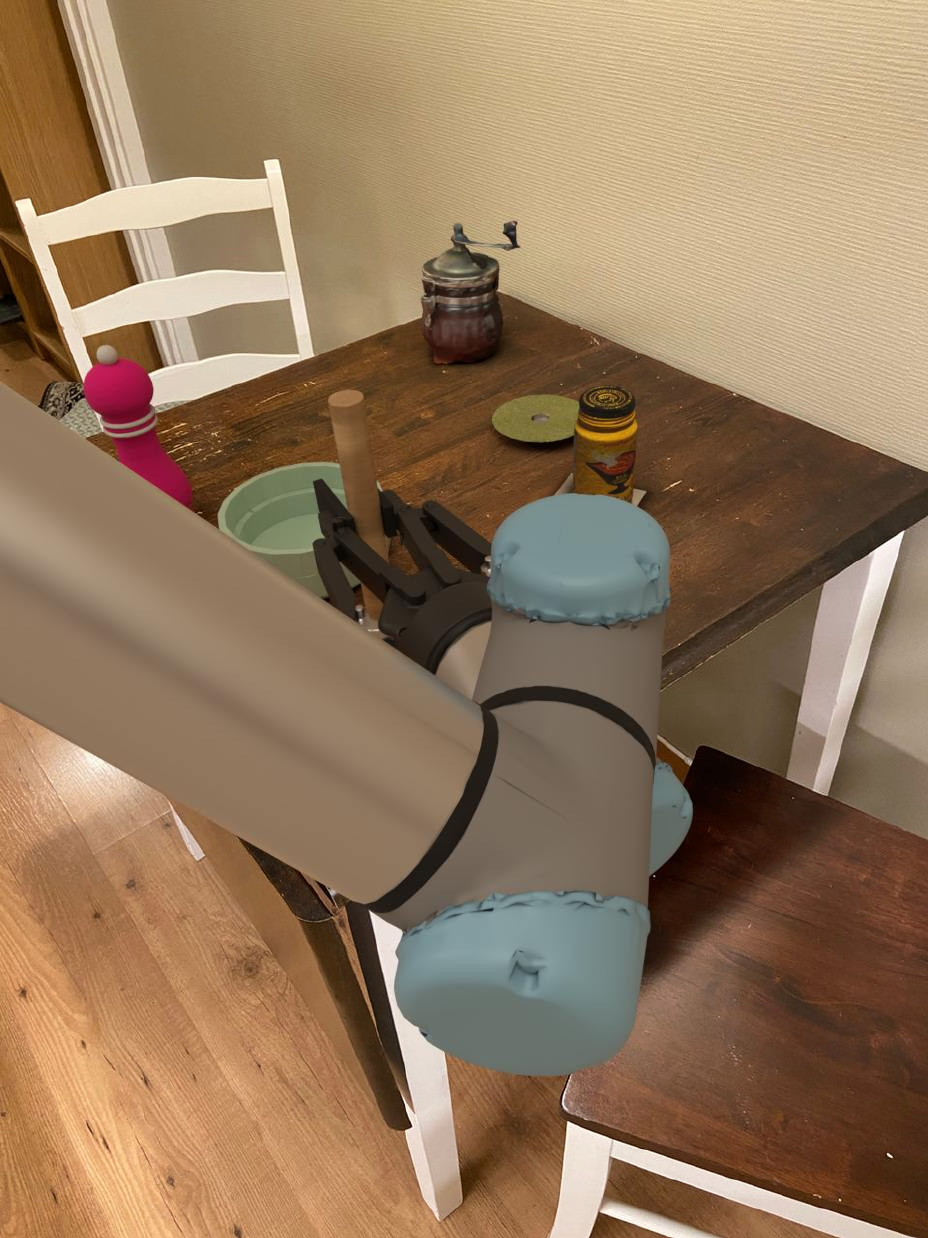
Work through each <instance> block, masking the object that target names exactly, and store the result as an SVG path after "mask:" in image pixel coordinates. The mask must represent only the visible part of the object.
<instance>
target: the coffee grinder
mask: <svg viewBox="0 0 928 1238" xmlns="http://www.w3.org/2000/svg"><path fill="white" fill-rule="evenodd" d="M518 224H519V223H518V221H516V220H511V221H507V222H504V223H503V231H502V235H504V236H506V237H507V239H508V240H509V242H510V243H484V242H479V241H474V240H471V239H469V238H468V236H467V235H465V233H464V225H463V224H462V223H460V222H456V223H454V224H453V226H452V230H453V234H452V235H451V236H450V241H451V243H452V244H453V247H452V248H448V249H447V250H444V251H443V252H442V253H441V254H439V256H436V257H433V258H431V259H428V260H427V261H426V262H425V263H424V264H423V265H422V266H421V272H422V279H421V283H422V289H423V295H421V297H420V303H421V308H422V314H421V325H422V326H421V333H422V337H423V339H424V340H425V342H426V343H427V344H428V345H429V347H430V348H431V351H432V355H433V362H434V364H437V365H440V364H443V365H449V364H452V363H455V362H463V363H470V364H474V363H476V362H477V361H478V360H482V359H486V358H488V357H489V356H494V354H495V352H496V351H497V348H498V345H499V343H500V339H501V336H502V335H503V325H504V315H503V311H502V308H501V306H500V303H499V300H500V298H499V295H498V294H497V291H498V290H499V285H500V284H499V283H500V271H501V270H500V263H499V261H498V260H497V259H496V258H495V257H492V256H489V255H487V254H484V253H481V252H478V251H477V252H475V251H471V250H470V249H469V248H468V247H467V246H472V247H473V246H474V247H481V248H482V247H485V248H496V249H502V250H505V251H506V252H509V251H513V250H515V249H521V246H520V244H518V241H517V238H518V237H517V236H518V235H517V226H518Z"/></svg>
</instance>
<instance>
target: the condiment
mask: <svg viewBox="0 0 928 1238" xmlns="http://www.w3.org/2000/svg"><path fill="white" fill-rule="evenodd" d="M578 398H579V399H578V402H579V410H578V419H577V420H576V422H575V426H574V435H573V461H572V463H573V464H572V466H573V467H572V468H573V469H572V472H571V473H570V474H569V475H568V476H567V479H566V480H565V481H564V482H563V483H562V485H561V486H560V488H559V489H558V490H557V491H556V492H555V493H554V495H560V494H570V493H576V494H585V495H605V496H610V497H614V498H617V499H620V500H623V501H626V502H629V503H631V504H633V505H635V506H637V507H638V505H639V504H640V502H641V501H642V499H643V497H644V496H645V495H646V494H647V490H643V489H637V488H634V484H635V472H636V463H637V462H636V461H637V459H636V458H637V454H636V453H637V445H638V435H639V434H638V433H639V425H638V422H637V420H636V398H635V396H634V394H633V393H632V392H631V391H630V390H629V389H627V388H624V387H622V386H618V385H613V384H611V385H610V384H604V385H598V386H593V387H590V388H588V389H586V390H585V391H583V392H582V394H580V395H579V397H578Z"/></svg>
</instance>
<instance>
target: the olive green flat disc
mask: <svg viewBox="0 0 928 1238" xmlns="http://www.w3.org/2000/svg"><path fill="white" fill-rule="evenodd" d="M578 410H579V400H578V401H577V400H575V399H572V398H569V397H567V396H563V395H556V394H544V393H543V394H531V395H526V396H519V397H517V398H514V399H511V400H509V401H506V402H505V403H503V404H502V405H500V406H498V407H497V409H495V411H494V412H493V413H492V416H491V424H492V425H493V427H494V429H495V430H496V431H497V432H498V433H500V434H501V435H503V436H505V437H508V438H510V439H514V440H517V441H522V442H524V443H525V442H530V443H532V442H533V443H545V442H546V443H549V442H551V443H554V442H556V441H562V440H564V439H569V438H571V437H574V426H575V422H576V420H577V419H578Z"/></svg>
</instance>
